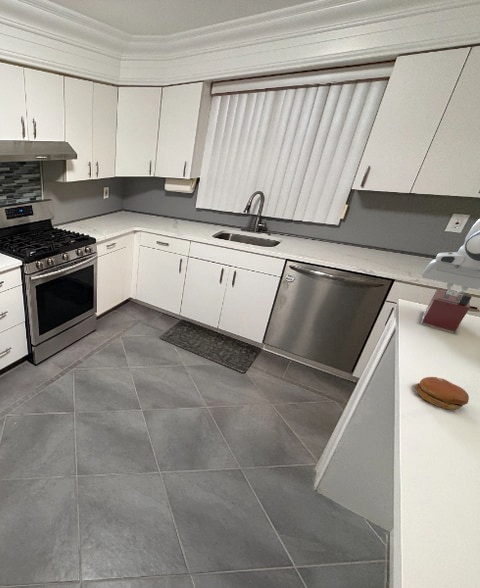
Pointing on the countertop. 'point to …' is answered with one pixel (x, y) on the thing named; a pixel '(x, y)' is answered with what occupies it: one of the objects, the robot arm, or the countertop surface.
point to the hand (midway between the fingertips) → (451, 295)
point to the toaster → (444, 312)
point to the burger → (442, 393)
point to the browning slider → (465, 299)
